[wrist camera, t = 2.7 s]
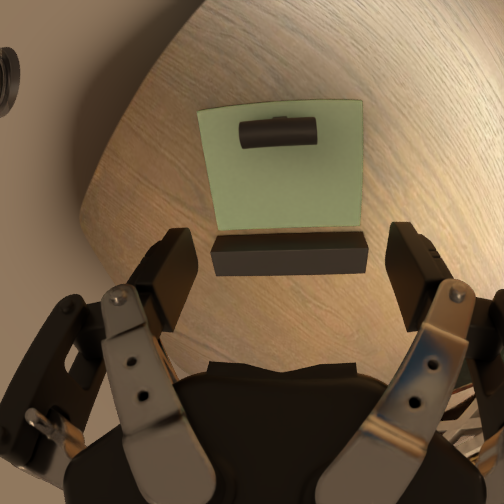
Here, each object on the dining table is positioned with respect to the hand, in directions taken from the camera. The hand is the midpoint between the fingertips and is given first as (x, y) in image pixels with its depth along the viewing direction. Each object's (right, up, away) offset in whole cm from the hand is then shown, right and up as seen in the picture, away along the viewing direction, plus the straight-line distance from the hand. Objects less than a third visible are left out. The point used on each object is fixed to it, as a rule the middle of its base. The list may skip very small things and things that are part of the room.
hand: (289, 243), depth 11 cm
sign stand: (+2, 0, +18) cm, 19 cm away
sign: (+1, +7, +14) cm, 16 cm away
